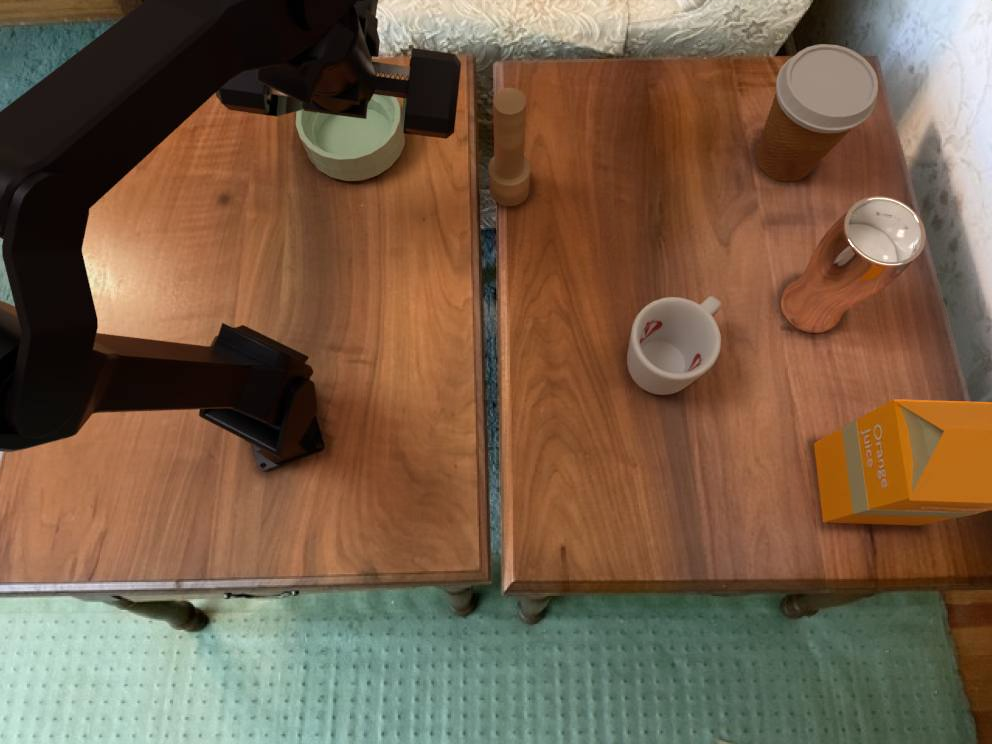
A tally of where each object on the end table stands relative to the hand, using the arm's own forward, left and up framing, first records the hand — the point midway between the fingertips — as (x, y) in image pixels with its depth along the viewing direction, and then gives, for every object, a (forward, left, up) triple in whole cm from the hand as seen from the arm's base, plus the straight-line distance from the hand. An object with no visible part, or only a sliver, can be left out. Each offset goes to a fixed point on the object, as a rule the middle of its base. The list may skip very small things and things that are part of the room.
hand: (354, 109), depth 64 cm
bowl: (+8, +1, -14) cm, 16 cm away
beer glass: (-28, -37, -14) cm, 49 cm away
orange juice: (-46, -33, -14) cm, 59 cm away
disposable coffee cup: (-11, -43, -14) cm, 47 cm away
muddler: (-4, -13, -14) cm, 20 cm away
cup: (-28, -21, -14) cm, 38 cm away
